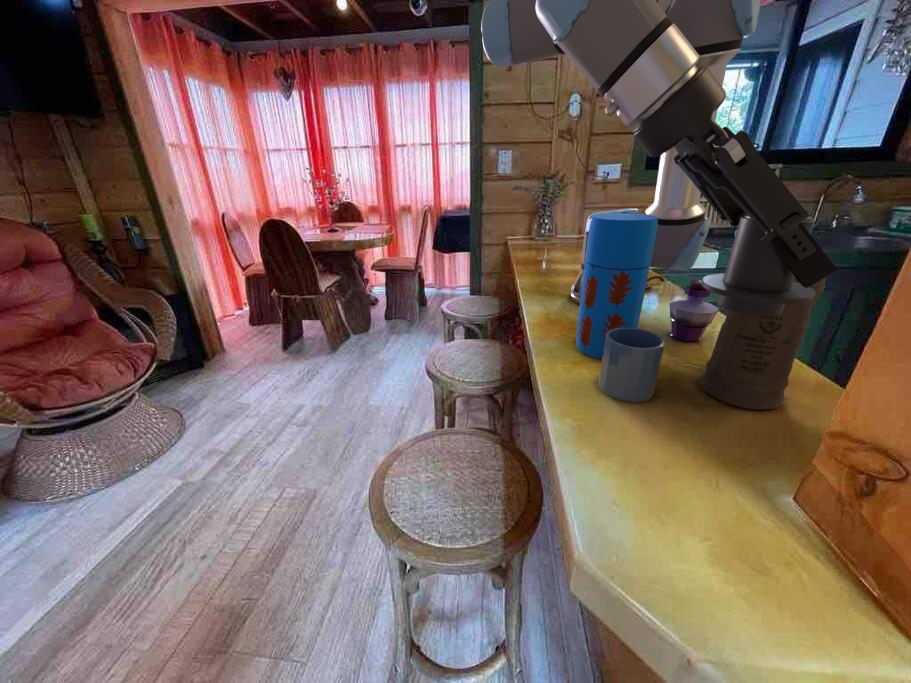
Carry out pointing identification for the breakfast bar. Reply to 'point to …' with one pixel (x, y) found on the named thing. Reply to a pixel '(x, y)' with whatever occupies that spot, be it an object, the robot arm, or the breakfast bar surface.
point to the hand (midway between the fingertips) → (799, 269)
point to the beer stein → (757, 355)
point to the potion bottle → (692, 313)
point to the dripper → (756, 275)
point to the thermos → (614, 276)
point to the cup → (630, 363)
